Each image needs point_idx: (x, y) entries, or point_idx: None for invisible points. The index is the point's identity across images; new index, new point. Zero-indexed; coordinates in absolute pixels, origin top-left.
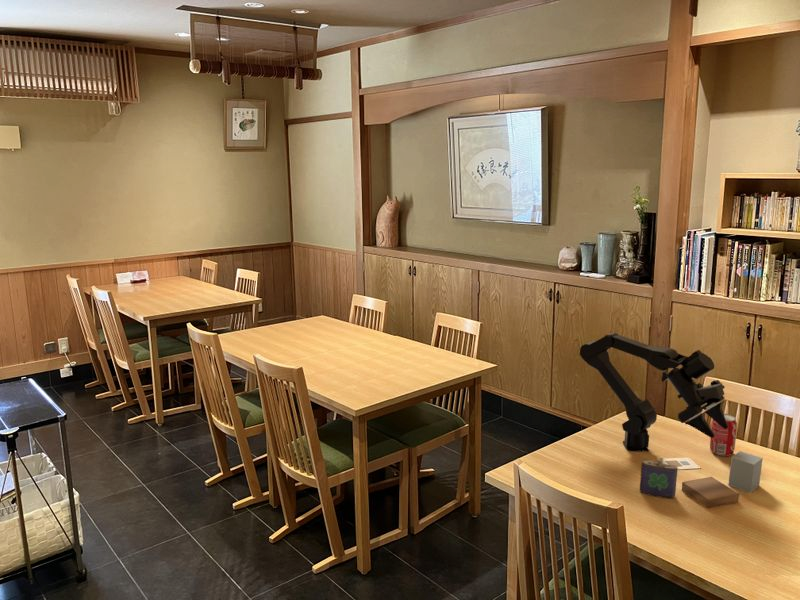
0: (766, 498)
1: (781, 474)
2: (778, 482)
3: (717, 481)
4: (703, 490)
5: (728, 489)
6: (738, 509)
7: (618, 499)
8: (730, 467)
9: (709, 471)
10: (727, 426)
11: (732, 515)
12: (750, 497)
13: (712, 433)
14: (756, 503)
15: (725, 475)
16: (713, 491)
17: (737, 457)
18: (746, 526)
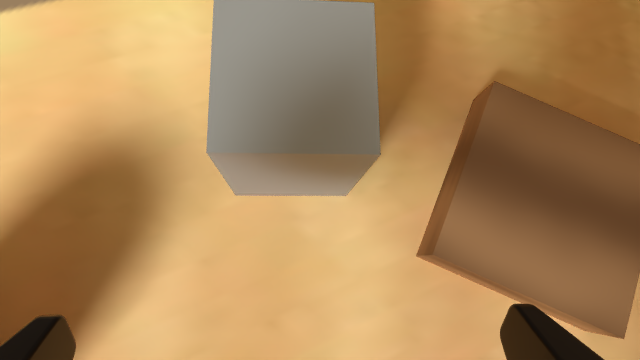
0: None
1: (22, 57)
2: (133, 41)
3: (459, 207)
4: (611, 214)
5: (497, 132)
6: (529, 78)
7: None
8: (365, 172)
9: (269, 333)
10: (47, 323)
11: (593, 77)
12: (387, 79)
13: (565, 331)
14: (420, 45)
15: (251, 249)
16: (577, 175)
17: (347, 122)
18: (622, 14)
